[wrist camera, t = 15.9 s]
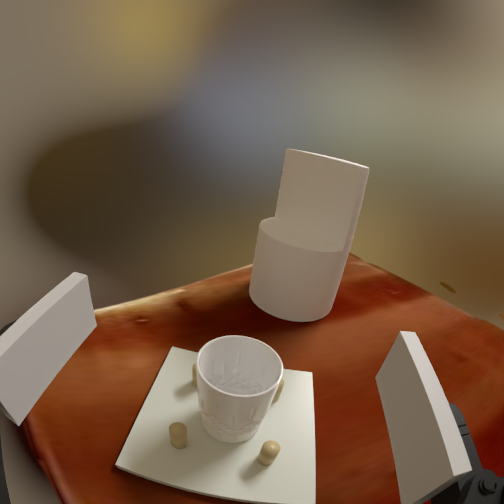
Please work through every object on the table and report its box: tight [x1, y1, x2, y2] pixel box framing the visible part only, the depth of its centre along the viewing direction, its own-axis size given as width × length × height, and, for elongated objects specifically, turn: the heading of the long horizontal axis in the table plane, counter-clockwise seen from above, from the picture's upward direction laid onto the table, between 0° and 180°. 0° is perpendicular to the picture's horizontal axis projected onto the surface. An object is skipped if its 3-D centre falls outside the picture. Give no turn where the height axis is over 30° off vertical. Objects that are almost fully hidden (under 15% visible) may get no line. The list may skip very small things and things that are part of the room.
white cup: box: [196, 335, 283, 443], centre depth 26 cm, size 8×8×10 cm
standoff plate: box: [115, 347, 315, 504], centre depth 28 cm, size 20×20×4 cm
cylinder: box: [249, 148, 369, 322], centre depth 52 cm, size 17×17×28 cm
